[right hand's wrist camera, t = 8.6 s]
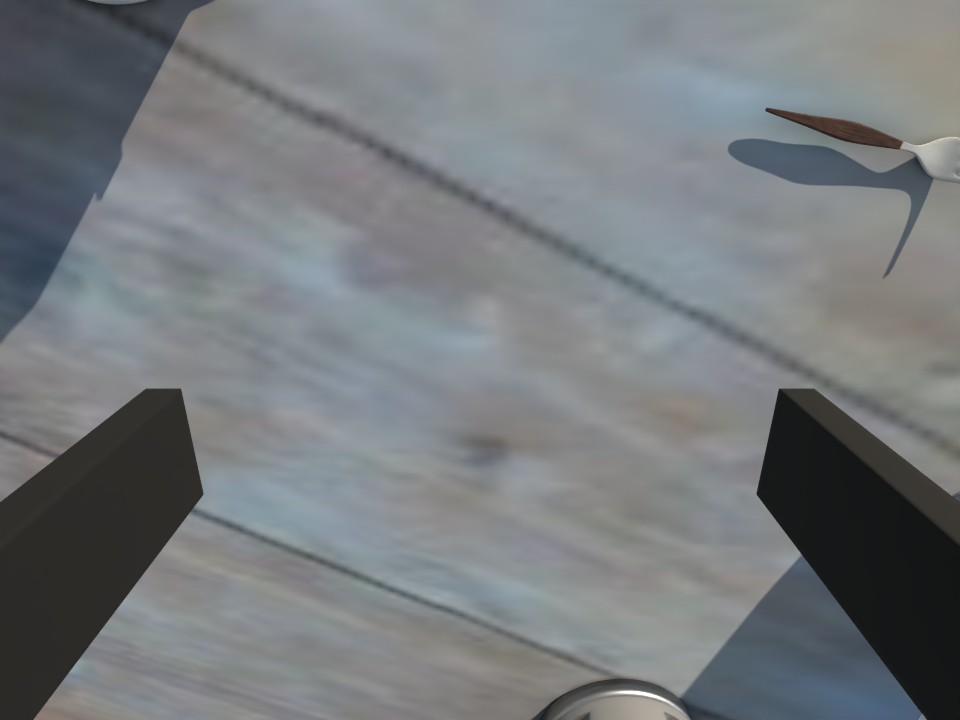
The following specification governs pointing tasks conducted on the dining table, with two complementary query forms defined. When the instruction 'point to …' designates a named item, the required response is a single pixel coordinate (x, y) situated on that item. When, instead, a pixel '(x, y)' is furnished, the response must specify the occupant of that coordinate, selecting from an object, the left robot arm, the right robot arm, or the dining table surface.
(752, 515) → the dining table surface
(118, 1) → the left robot arm
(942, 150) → the fork
